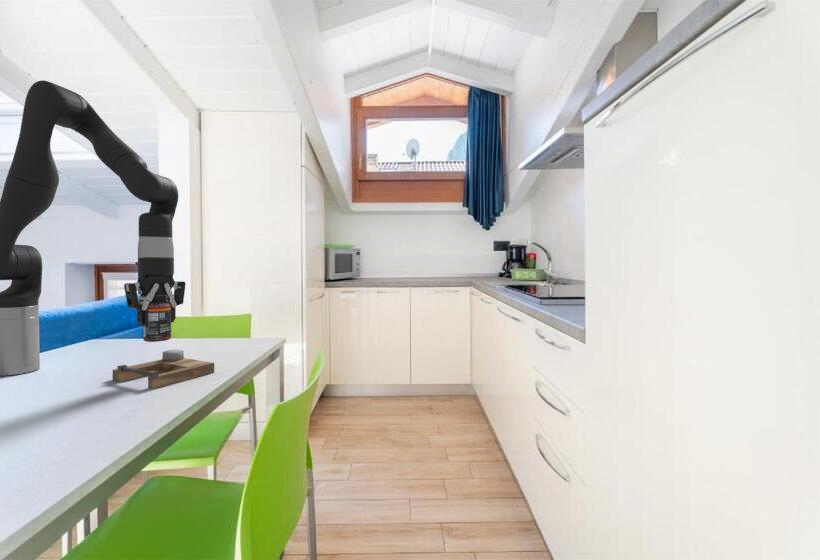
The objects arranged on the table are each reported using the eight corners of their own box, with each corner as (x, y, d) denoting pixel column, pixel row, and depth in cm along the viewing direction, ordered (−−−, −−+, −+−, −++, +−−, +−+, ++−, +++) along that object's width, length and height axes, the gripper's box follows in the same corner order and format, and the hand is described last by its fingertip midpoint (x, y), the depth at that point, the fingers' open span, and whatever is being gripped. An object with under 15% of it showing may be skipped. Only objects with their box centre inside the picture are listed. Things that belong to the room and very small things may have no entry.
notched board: (112, 379, 98) (111, 364, 98) (174, 365, 112) (174, 352, 112) (153, 388, 91) (152, 372, 91) (214, 372, 106) (214, 358, 105)
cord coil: (160, 361, 106) (160, 354, 105) (165, 356, 110) (165, 349, 110) (181, 361, 107) (181, 353, 107) (185, 356, 112) (185, 349, 112)
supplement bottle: (155, 337, 102) (154, 293, 102) (176, 338, 101) (176, 294, 101) (136, 342, 96) (136, 295, 96) (159, 342, 95) (159, 295, 95)
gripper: (174, 256, 106) (175, 319, 107) (115, 255, 93) (116, 326, 94) (193, 256, 103) (193, 321, 103) (134, 255, 90) (135, 329, 90)
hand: (157, 323), depth 99 cm, fingers closed on supplement bottle, 6 cm apart
